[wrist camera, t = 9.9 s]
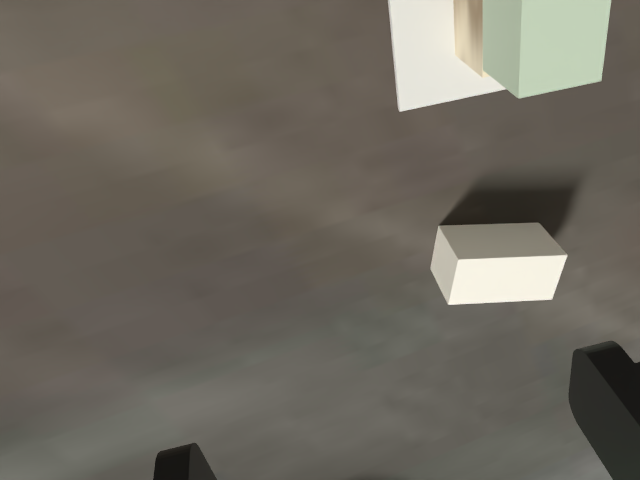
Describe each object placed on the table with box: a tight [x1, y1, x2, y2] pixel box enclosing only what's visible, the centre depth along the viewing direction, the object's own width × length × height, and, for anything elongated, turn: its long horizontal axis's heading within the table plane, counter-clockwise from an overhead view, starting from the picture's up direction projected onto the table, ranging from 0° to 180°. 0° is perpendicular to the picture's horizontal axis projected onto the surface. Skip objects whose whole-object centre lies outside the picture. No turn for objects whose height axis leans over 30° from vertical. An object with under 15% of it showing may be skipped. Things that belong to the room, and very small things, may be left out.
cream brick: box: [430, 223, 567, 305], centre depth 36 cm, size 7×4×4 cm, turn 88°
